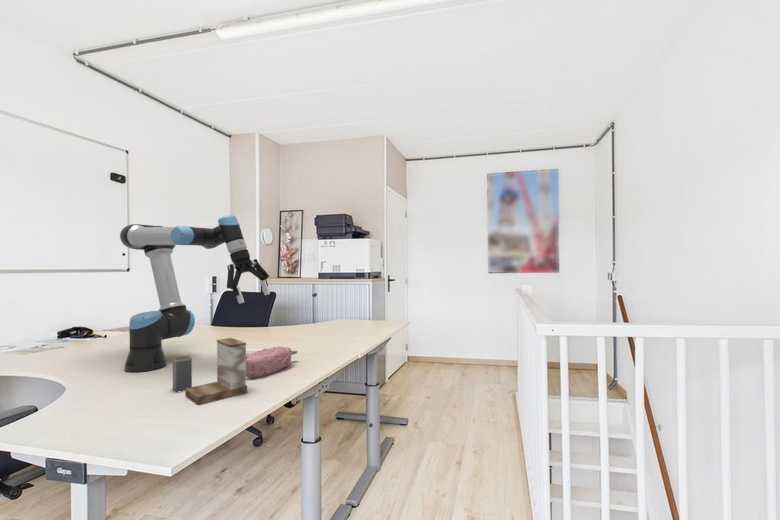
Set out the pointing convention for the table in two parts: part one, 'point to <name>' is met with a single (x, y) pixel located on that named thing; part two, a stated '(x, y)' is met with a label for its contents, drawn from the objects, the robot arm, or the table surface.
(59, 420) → the table surface
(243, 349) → the stand
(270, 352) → the ice cream bar
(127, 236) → the robot arm
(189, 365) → the case
